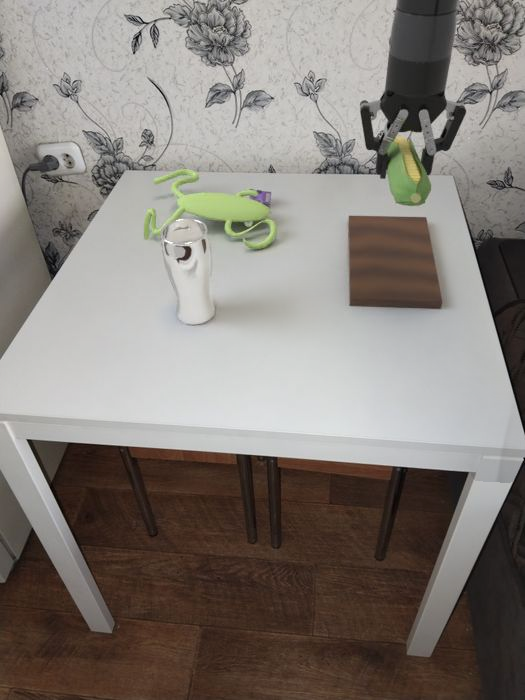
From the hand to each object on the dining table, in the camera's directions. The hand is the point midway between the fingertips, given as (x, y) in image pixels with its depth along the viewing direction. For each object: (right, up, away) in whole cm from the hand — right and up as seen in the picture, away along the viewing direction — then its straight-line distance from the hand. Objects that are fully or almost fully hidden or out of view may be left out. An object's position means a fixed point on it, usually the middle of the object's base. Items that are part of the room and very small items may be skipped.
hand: (402, 175), depth 84 cm
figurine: (-30, 0, +28) cm, 41 cm away
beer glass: (-30, -19, +9) cm, 37 cm away
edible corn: (0, 0, 0) cm, 1 cm away
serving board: (+2, -10, +16) cm, 19 cm away
